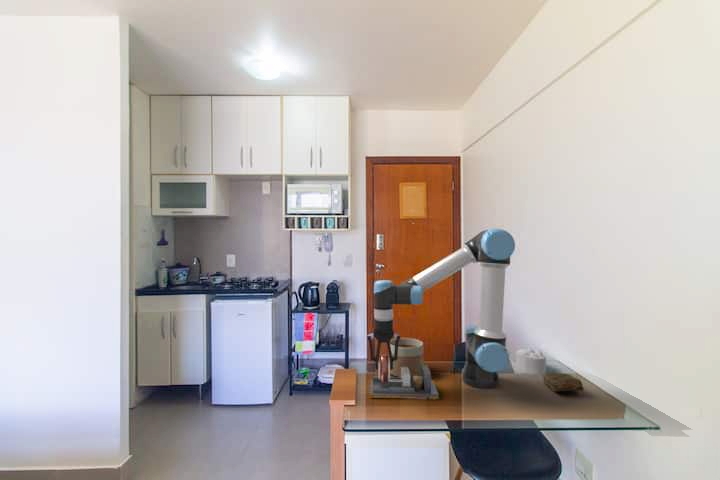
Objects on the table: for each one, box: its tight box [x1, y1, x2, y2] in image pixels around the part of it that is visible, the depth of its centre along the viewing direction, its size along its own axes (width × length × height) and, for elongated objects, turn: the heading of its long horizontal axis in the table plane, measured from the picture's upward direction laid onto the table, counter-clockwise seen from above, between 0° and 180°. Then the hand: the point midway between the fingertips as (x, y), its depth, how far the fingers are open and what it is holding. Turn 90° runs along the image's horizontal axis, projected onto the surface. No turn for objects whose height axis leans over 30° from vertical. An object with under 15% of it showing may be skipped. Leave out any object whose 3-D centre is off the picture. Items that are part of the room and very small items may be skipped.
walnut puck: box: [412, 376, 423, 389], centre depth 132 cm, size 4×4×4 cm
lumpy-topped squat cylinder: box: [515, 348, 547, 376], centre depth 155 cm, size 10×13×9 cm
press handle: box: [379, 353, 410, 387], centre depth 133 cm, size 12×8×12 cm
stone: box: [542, 371, 585, 392], centre depth 133 cm, size 10×14×6 cm
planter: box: [388, 337, 424, 379], centre depth 153 cm, size 16×16×14 cm
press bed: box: [369, 364, 440, 399], centre depth 133 cm, size 26×13×9 cm, turn 87°
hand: (384, 377), depth 133 cm, fingers closed on press handle, 3 cm apart
